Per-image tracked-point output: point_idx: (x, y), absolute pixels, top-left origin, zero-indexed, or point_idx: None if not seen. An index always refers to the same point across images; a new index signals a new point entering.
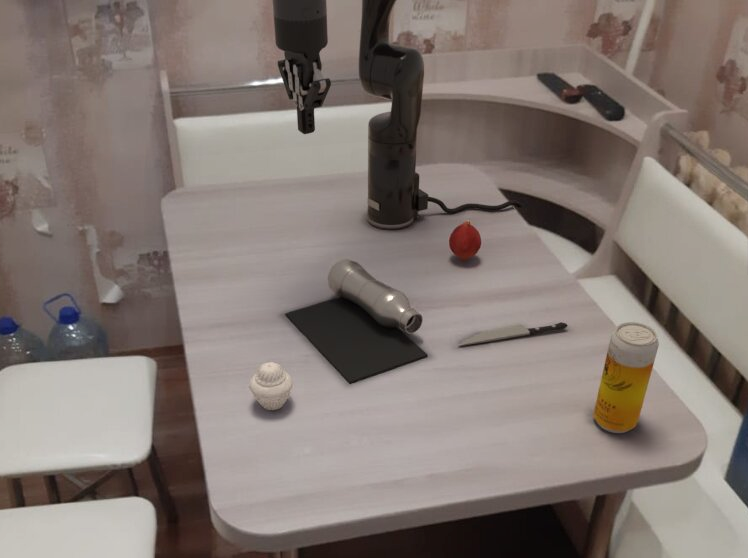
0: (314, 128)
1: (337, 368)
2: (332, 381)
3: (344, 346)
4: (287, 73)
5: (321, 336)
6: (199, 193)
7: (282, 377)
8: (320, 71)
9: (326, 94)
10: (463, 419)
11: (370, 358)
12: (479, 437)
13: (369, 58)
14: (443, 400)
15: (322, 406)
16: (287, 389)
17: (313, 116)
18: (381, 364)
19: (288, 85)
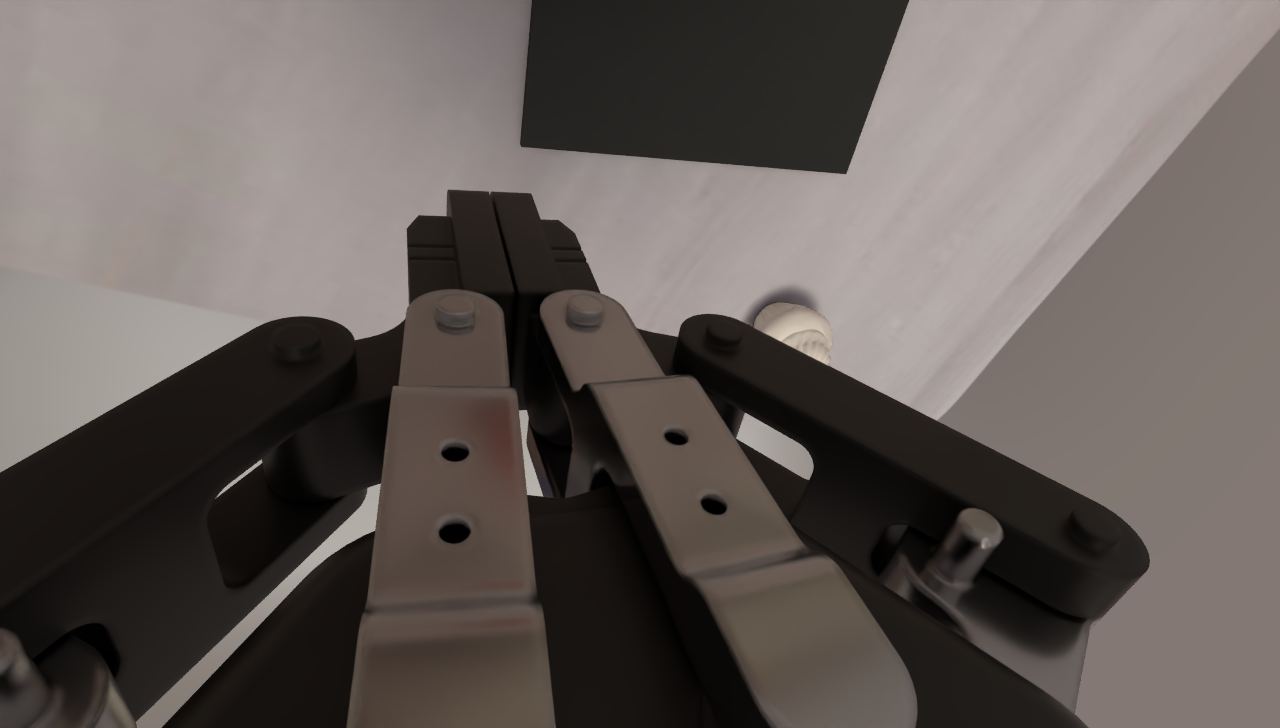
0: (532, 201)
1: (796, 169)
2: (810, 196)
3: (749, 103)
4: (122, 694)
5: (676, 127)
6: None
7: (826, 345)
8: (1017, 673)
9: (933, 424)
10: (1088, 47)
11: (829, 81)
12: (1131, 60)
13: None
14: (1031, 37)
15: (845, 252)
16: (832, 333)
17: (594, 287)
18: (863, 74)
19: (276, 582)
